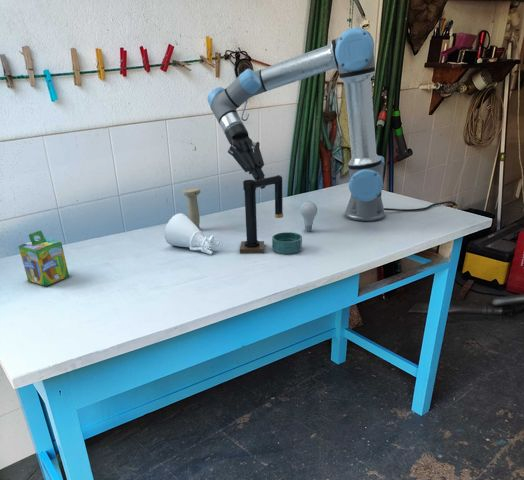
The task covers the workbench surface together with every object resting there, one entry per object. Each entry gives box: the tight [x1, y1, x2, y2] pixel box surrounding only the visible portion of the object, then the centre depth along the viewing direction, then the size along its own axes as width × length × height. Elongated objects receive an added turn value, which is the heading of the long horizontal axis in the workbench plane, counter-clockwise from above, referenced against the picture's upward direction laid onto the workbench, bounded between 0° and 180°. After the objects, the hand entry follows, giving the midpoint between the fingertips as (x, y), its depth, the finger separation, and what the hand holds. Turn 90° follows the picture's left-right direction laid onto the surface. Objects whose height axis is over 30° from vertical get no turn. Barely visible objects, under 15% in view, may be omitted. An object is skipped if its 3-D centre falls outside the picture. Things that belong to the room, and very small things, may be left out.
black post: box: [239, 189, 265, 254], centre depth 175 cm, size 8×8×20 cm
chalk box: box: [17, 230, 70, 287], centre depth 158 cm, size 9×9×15 cm
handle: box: [182, 187, 201, 230], centre depth 196 cm, size 5×6×15 cm
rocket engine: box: [164, 212, 221, 256], centre depth 179 cm, size 12×12×18 cm
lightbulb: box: [300, 201, 318, 232], centre depth 192 cm, size 6×6×11 cm
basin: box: [271, 231, 303, 255], centre depth 177 cm, size 10×10×4 cm
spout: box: [242, 174, 284, 219], centre depth 175 cm, size 16×4×14 cm, turn 128°
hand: (264, 186), depth 182 cm, fingers closed
